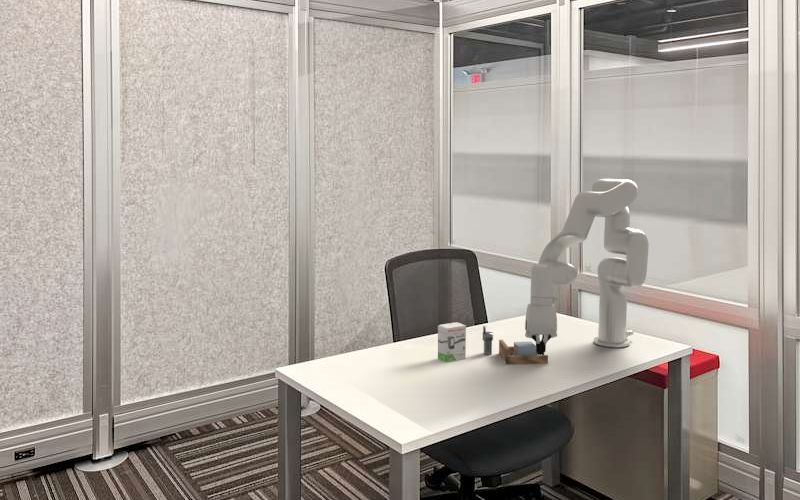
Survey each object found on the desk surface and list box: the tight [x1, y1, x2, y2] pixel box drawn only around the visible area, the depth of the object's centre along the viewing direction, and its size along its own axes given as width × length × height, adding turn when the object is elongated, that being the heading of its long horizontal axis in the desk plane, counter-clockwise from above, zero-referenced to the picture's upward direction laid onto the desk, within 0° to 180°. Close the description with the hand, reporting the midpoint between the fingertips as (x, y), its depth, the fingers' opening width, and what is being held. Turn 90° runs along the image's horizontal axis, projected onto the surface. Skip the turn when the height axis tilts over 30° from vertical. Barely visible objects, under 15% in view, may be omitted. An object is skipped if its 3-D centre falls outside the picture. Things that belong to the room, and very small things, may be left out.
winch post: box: [482, 325, 494, 356], centre depth 232 cm, size 4×4×10 cm
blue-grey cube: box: [513, 341, 537, 356], centre depth 226 cm, size 6×6×5 cm
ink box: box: [437, 321, 467, 363], centre depth 226 cm, size 9×5×12 cm, turn 120°
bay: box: [498, 339, 549, 365], centre depth 226 cm, size 14×12×5 cm
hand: (540, 353), depth 227 cm, fingers closed
